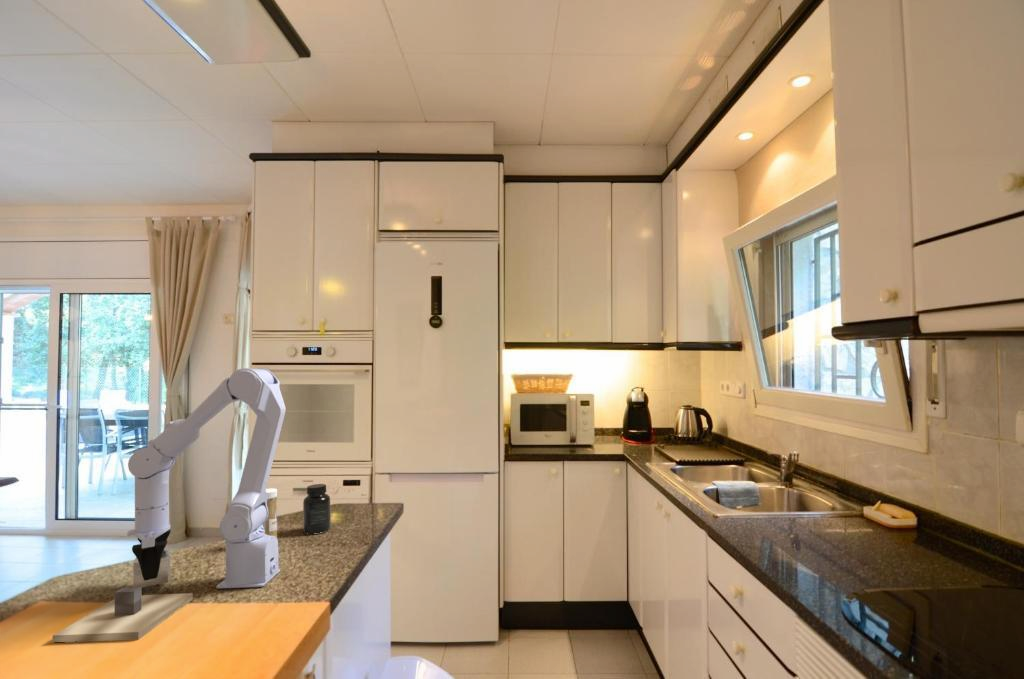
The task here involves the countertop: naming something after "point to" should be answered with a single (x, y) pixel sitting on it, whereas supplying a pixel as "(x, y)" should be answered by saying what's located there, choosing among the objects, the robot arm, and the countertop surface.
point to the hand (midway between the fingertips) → (152, 573)
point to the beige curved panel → (124, 617)
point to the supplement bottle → (316, 510)
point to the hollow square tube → (162, 574)
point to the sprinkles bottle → (271, 513)
